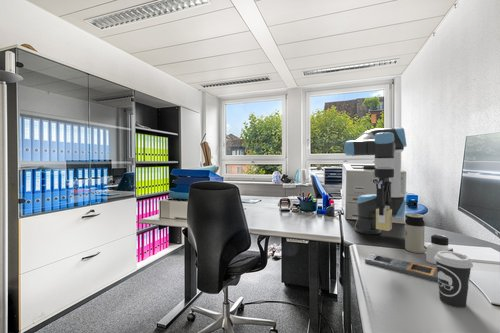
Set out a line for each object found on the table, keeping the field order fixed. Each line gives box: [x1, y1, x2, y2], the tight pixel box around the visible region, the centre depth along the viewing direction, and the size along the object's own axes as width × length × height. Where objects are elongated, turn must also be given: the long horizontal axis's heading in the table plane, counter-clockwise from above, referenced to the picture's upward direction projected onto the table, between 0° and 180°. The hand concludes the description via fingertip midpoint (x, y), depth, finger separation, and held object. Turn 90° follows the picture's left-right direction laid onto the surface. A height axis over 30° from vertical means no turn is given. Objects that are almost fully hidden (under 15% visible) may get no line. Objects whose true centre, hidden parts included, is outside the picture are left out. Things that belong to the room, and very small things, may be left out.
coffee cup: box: [434, 251, 474, 308], centre depth 79 cm, size 10×10×15 cm
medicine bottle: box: [425, 234, 454, 265], centre depth 108 cm, size 7×7×12 cm
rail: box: [364, 252, 438, 283], centre depth 103 cm, size 9×26×2 cm, turn 46°
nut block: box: [376, 209, 393, 232], centre depth 108 cm, size 5×5×8 cm
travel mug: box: [404, 212, 425, 254], centre depth 123 cm, size 8×8×18 cm
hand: (383, 221), depth 108 cm, fingers closed on nut block, 5 cm apart
